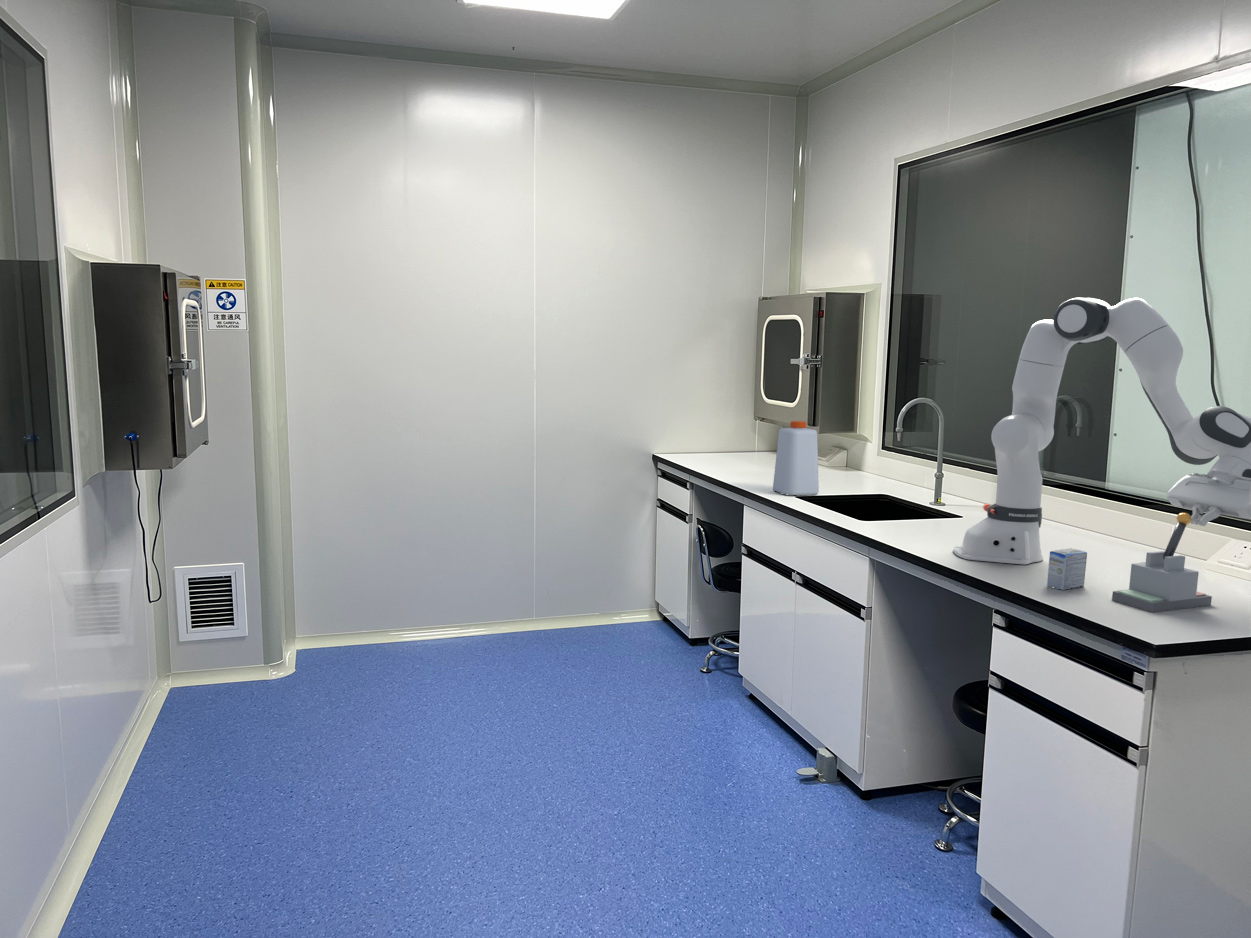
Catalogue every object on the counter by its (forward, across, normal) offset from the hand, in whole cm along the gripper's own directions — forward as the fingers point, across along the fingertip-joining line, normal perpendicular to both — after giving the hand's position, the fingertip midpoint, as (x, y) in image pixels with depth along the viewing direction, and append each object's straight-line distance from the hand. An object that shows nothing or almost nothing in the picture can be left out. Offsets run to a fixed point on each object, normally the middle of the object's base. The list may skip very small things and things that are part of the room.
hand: (1196, 523), depth 198 cm
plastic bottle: (+17, -157, +8) cm, 158 cm away
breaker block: (+18, 0, +6) cm, 20 cm away
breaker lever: (+12, 0, 0) cm, 12 cm away
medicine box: (+26, -17, 0) cm, 31 cm away
